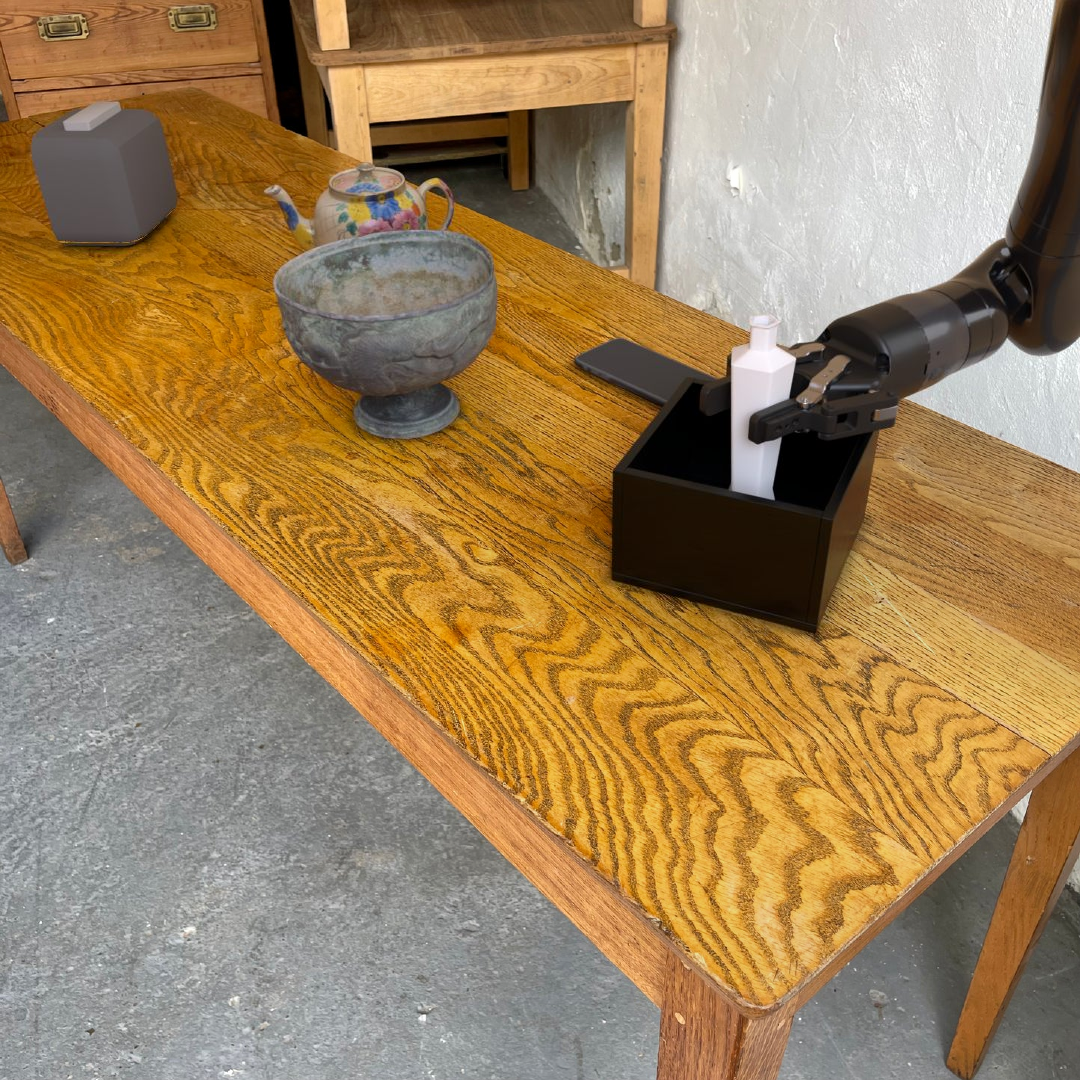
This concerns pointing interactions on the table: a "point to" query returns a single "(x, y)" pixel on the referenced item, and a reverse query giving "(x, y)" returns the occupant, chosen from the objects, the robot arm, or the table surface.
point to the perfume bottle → (757, 404)
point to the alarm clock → (104, 174)
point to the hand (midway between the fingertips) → (728, 416)
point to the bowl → (391, 322)
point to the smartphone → (637, 369)
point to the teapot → (361, 206)
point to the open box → (737, 516)
